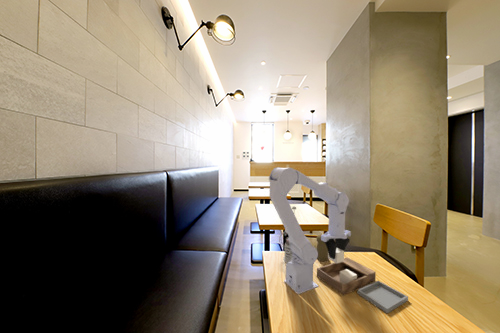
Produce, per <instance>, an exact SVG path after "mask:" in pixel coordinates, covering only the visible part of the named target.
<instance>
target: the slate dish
mask: <svg viewBox="0 0 500 333" xmlns="http://www.w3.org/2000/svg"><path fill="white" fill-rule="evenodd" d="M357 295H358V296H360V297H361V298H363V299H364V300H366V301H367V302H369V303H370V304H372V305H373V306H375V307H377V308H378V309H379V310H381V311H382V312H384V313H385V314H389V313H390V312H392V311H394V310H395V309H397V308H398V307H401V306H402V305H403V304H405V303H407V302H408V301H409V296H407V295H406V294H404V293H402V292H401V291H398V290H397V289H395V288H393V287H391V286H389V285H387V284H386V283H383V282H382V281H380V280H375V281H374V282H372V283H370V284H368V285H366V286H363V287H361V288H359V289H357Z"/></svg>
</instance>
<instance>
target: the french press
mask: <svg viewBox="0 0 500 333" xmlns="http://www.w3.org/2000/svg"><path fill="white" fill-rule="evenodd" d="M291 208H292V210H297V207H296V206H291ZM284 229H285V228H284ZM302 232H303V233H304V231H303V230H302ZM283 234H284V236H285V242H284V244H283V242H282V240H281V237H282V235H283ZM287 235H288V233H287V231H286V229H285V230H284V232H282V233H281V234H280V235H279V239H278V241H279V244H280V246H281V247H282V248H283V250H284V256H283V257H282V258H283V262H284V263H286V264H287V263H288V262H290V261H291V260H292V259H293V252H292V251H291V250H290V243H289V240H288V238H289V236H288V237H286V236H287Z"/></svg>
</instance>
